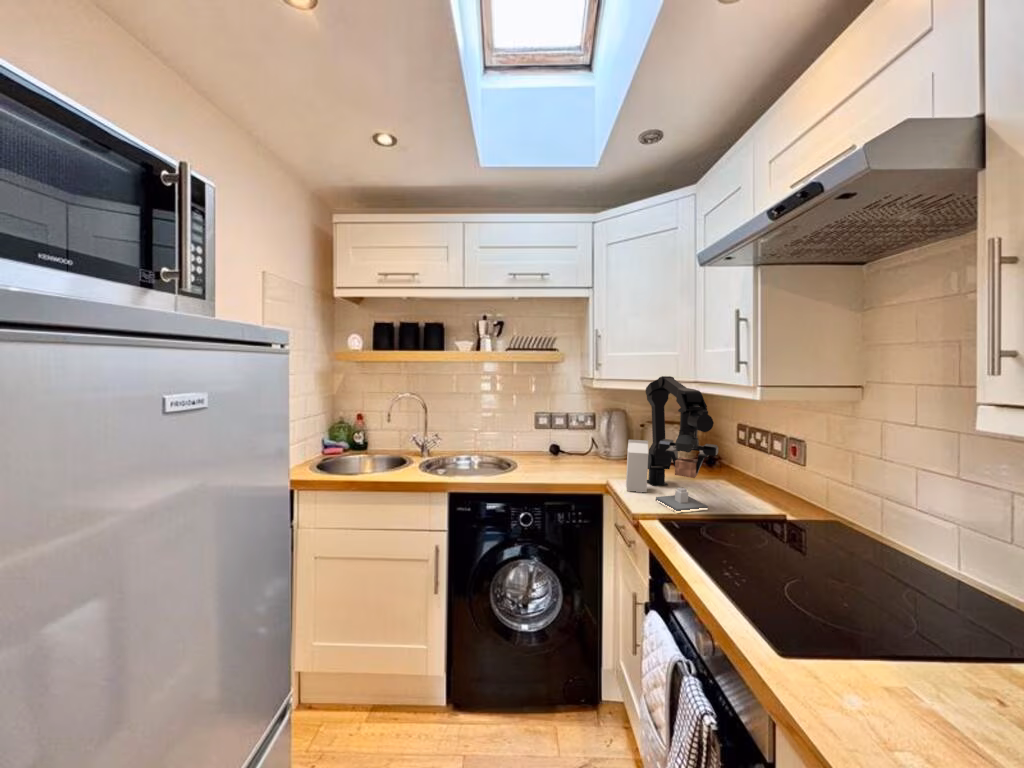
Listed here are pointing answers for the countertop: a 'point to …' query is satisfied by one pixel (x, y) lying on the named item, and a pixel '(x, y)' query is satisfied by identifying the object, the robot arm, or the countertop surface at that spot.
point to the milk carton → (637, 465)
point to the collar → (686, 467)
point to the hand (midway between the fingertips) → (686, 471)
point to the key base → (680, 505)
